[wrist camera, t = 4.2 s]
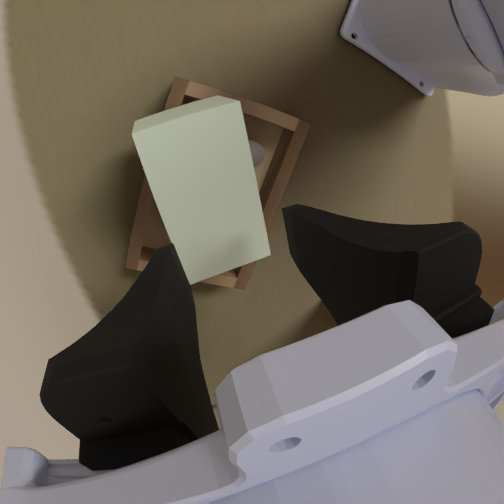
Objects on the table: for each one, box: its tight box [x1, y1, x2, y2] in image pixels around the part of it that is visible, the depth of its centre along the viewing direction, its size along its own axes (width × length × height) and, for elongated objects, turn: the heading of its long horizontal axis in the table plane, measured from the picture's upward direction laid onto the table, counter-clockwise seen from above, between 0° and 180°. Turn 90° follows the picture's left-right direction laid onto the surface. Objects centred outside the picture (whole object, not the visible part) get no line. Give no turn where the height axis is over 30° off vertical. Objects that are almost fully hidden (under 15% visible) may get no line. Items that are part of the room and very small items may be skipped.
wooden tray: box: [125, 77, 311, 290], centre depth 18 cm, size 8×12×2 cm
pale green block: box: [132, 95, 271, 285], centre depth 15 cm, size 4×8×4 cm, turn 13°
